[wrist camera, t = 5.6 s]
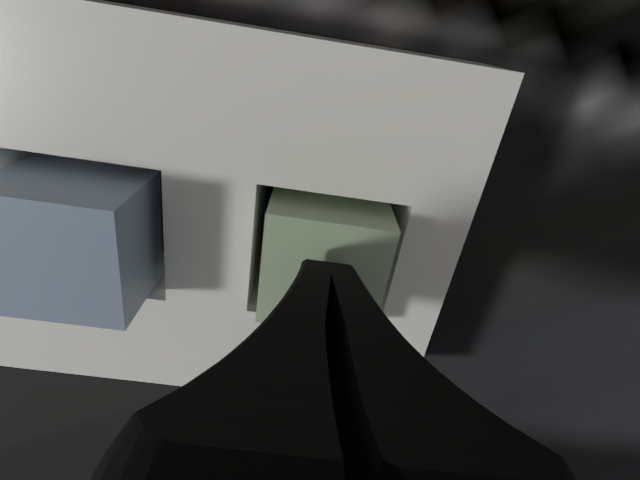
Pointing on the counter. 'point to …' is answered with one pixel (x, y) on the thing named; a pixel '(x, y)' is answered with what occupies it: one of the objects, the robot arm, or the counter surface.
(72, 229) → the slate blue button
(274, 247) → the sage green button
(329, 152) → the button panel
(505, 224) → the counter surface
